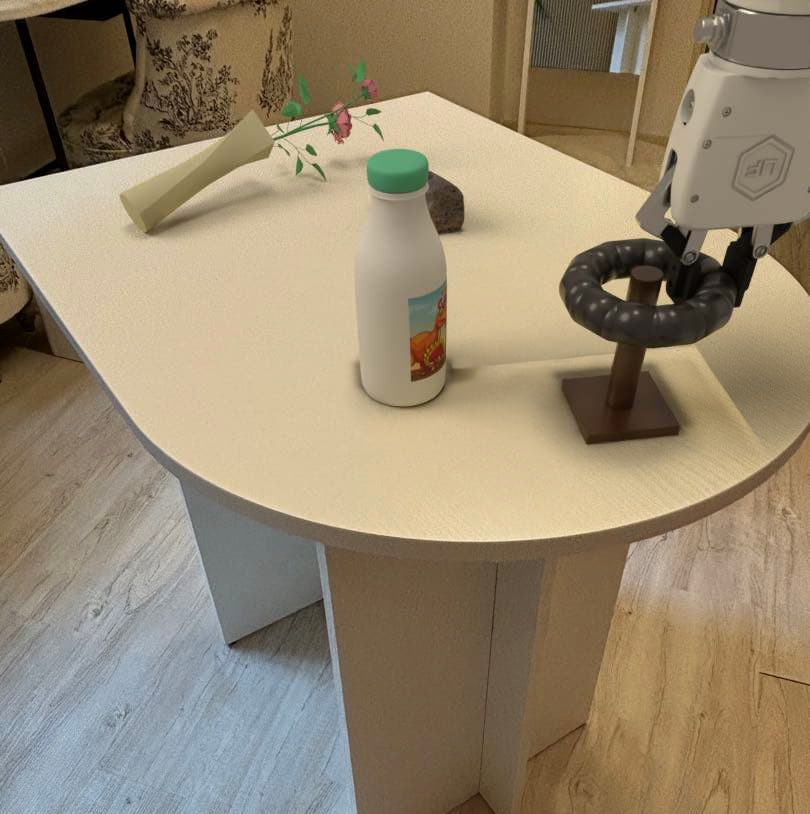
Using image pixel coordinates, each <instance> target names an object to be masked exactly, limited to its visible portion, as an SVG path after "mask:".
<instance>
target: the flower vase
mask: <svg viewBox="0 0 810 814" xmlns="http://www.w3.org/2000/svg"><path fill="white" fill-rule="evenodd" d="M348 66H349V69H350V73H351V76H352V79H351V82H350V85H351V86H350V87H351V89H352V91H353V92H352V93H353V94H352V100H351V101H349V102H348V103H346V104H344V103H342V102H341V101H340V100H338V102H337V101H335V102H334V106H333V107H331V112H329V113H323V114H324V115H322V116H320V117H317V118H315V119H313V120H311V121H309V122H307V123H304V124H302V122H303V118H304V115H302V114H305V113H304V112H305V107H306V105H308V104H310V102H311V96H310V94H309V89H308V85H307V82H306V80H305V78H304V77H303V75H302V74H301V73H300V72H299V73H298V88H299V96H301V100H300V104H299V103H297V102H295V101H291V100H287V105H286V106H285V107H284V108H283V110H282V111H281V113H280V116H283V117H287V118H289V120H288V123H287V126H289V124H290V121H291V120H292V118H294V117H295V118H296V117H297V118H298V117H299V116H300V124H299V126H298V127H295V128H294V129H292V130H289V127H286V128H287V130H286V131H287V132H286V133H285V131H284V130H283V129H282V128H281V126H280V125H279V122H276V123H275V124H276V129H277V130H276V131H275V132H273V133H272V134H270V132H269V131H268V129H267V128H266V127H265V125H264V123H263V122H262V120H260V118H259V117H258V115H257V114H256V112H255V110H254V109H253V108H252V109H251V110H250V111H249V112H248V113H247V114H246V115H245V117H243V118H242V119H241V120H240V121H239V123H238V124H236V125H235V126H234V127H233V129H231V130H230V131H228V132H227V133H226V134H225V135H224V136H223V137H221V138H219V139H218V140H217V141H215V142H214V143H212V144H211V145H209V146H208V147H206V148H205V149H203V150H201V151H200V152H199V153H197V154H195V155H193V156H192V157H190V158H188V159H187V160H185V161H182V163H179V164H177V165H176V166H173V167H172V168H170V169H167V170H165V171H163V172H160V173H158V174H157V175H155V176H153V177H150V178H148V179H147V180H145V181H142V182H140V183H139V184H137V185H135V186H132V187H130V188H127V189H126V190H124V191H122V192H120V194H119V196H118V197H119V199H120V202H121V204H122V206H123V208H124V210H125V211H126V213H127V215H128V216H129V218H130V220H131V221H132V222H133V223H134V224H135V226H136V227H137V228H138V229H139V230H140V231H141V232H143V233H144V234H146V233H147V232H148V231H150V230H151V229H152V228H154V227H155V226H157V225H158V224H159V223H160V222H161V221H163V220H164V219H166V217H168V216H169V215H171V214H172V213H174V212H175V211H176V210H178V208H180V207H181V206H183V205H184V204H185V203H186V202H188V201H190V199H192V198H193V197H194V196H196V195H197V194H198V193H200V192H201V191H203V190H204V189H206V188H207V187H208V186H209V185H211V184H213V183H215V182H216V181H218V180H220V179H221V178H223V177H225V176H227V175H229V174H230V173H231V172H233V171H235V170H237V169H239V168H240V167H243V166H246V165H248V164H252V163H255V162H260V161H262V160H266V159H269V158H270V155H271V153H272V150H273V148H274V147H275V148H280V149H282V150H284V151H285V154H287V156H288V157H291V153H290V152H289V151H288V149H286V148H285V147H284V146H283V145H282V144H281V143H278V142H277V145H275V143H276V141H279V140H281V139H283V140H285V141H286V142H288V143H289V144H291V145H292V146H293V147H294V148H295V150H297V159H296V165H295V176H297V175H299V174H301V172H302V171H303V168H304V162H303V161H302V160H301V158H300V157H299V154H300V156H302V158H303V159H304V161H306V163H308V164H309V165H310V166H312V168H313V169H315V170H316V171H317V172H318V173H319V174H320V176H321V177H322V178H323V179H324V181H327V178H326V175H325V173H324V171H323V169H322V168H321V166H320V165H319V164H318V163H316V162H314V163H310V162H309V161H308V160H307V159H306V158H305V156H303V154H302V153H301V151H300V150H302V151H306V152H307V153H308V154H309V155H310V156H314V157H317V156H318V153H317V152H316V150H315V148H314V147H313V146H312V145H311V144H309V143H306V146H305V149H304V148H301V147H299V148H298V147H297V146H295V145H294V144H293V143H291V141H289V140H288V139H287V137H290V136H292V135H294V134H297V133H301V132H304V131H307V130H311V129H314V128H318V127H323V126H328V130H327V133H326V136H328V135H330V134H331V136H332V137H333V138H334V139H333V140H334V142H337V145H344V144H345V141H344V140H347V138H349V137H350V136H351V130H352V129H353V123H352V118H354V119H355V120H357V121H359V122H361V123H364V124H365V125H367V126H369V127H372V128H373V130H374V131H375V133H377V134H378V136H379V137H380V138H381V140H382V142H385V139H384V136H383V133H382V131H381V128H380V127H379V125H378V124H377V123H374V124H373V125H371V124H368V123H366V122H364V121H362V120H360V118H364V117H365V116H368V117H369V116H374V115H378V114H381V113H382V112H383V111H382V110H380V109H378V108H376V107H375V108H374V107H373V108H372V107H369V108H366V111H365V114H364V115H362V116H353V115H352V114H351V113H350V112H349V110H348V108H347V107H348V106H350V105H352V104H353V103H355V102H357V101H358V100H360V99H361V98H363V103H365V102H366V101H368V102H370V104H371V105H373V104H376V100H375V99H377V101H378V100H379V97H380V95H379V91H378V85H377V83H376V82H375V81H373V79H372V78H369V77H368V76H366V74H367V66H366V62H365V58H362V59H361V60H360V62H359V64H357V67H356V71H355V73H354V68H353V66H352V64H351V63H350V62H348ZM355 81H356V83H355ZM354 83H355V86H354V88H353V84H354ZM358 83H362V84H361V86H360V88H358V90H359V92H360V95H359V96H358V97H356V98H355V97H354V96H355V92H356V91H355V90H356V87H357V85H358ZM303 103H304V104H305V105H303ZM303 106H304V107H303ZM301 112H302V114H301ZM325 118H326V119H327V122H320V123H316V122H318V121H321V120H322V119H325ZM314 123H315V124H314ZM279 131H280V132H281V133H283V134H280V135H278V136H275V137H273V136H274V135H275V134H276V133H278V132H279ZM343 139H344V140H343Z"/></svg>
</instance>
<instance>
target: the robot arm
mask: <svg viewBox="0 0 810 814" xmlns="http://www.w3.org/2000/svg"><path fill="white" fill-rule="evenodd" d="M693 40H694V43H696V44H705V45H706V46H707V48H708V49H709V51H708V52H706V53H701V54H699V57H698V59H697V60H696V63H695V65H694V68H693V70H692V71H691V72H692V73H691V75H690V76H689V79H688V81H687V85H686V87H685V89H684V92H683V95H682V98H681V100H680V102H679V106H678V109H677V112H676V115H675V118H674V121H673V124H672V127H671V132H670V134H669V139H668V142H667V145H666V149H665V153H664V157H663V161H662V164H661V169H660V173H659V179H658V183H657V185H655V188H654V189H653V190H652V191H651V192H650V194H649V196H648V197H647V198H646V200H645V201H644V202H643V204H642V205H641V207H640V208H639V210H638V211H637V212H636V214H635V216H634V219H635V222H636V223H637V224H638V226H639V227H640V229H641V230H642V231H644V232H646V233H648V234H650V235H651V236H653V237H655V238H657V239H659V240H661V241H664V242H665V243H666V244H667V245H668V247H669V248H670V249H671V250H672V251H673V256H672V260H671V264H670V269H669V273H668V277H667V281H666V282H665V294H666V295H667V297H668V298H669V299H670V301H671V302H672V304H677V303H684V302H686V301H688V300H689V299H691V298H693V297H694V294H695V292H696V289H697V285H698V281H699V278H700V274H701V270H702V266H701V264H700V263H699V261H698V260H697V258H698V256H699V253H700V252H701V250H702V248H703V245H704V242H705V240H706V238H707V234H708V232H709V231H717V230H727V229H728V230H729V229H738V232H737V239H736V240H731V241H730V242H729V245H727V248H726V250H725V254H724V257H723V261H722V263H721V265H722V267H723V268H724V269H725V270H726V271H727V273H728V274H729V275H730V276H731V277H732V279H733V280H734V282H735V284H736V287H737V295H736V299H735V304H734V308H735V309H737V308H740V307H741V305H742V303H743V299H744V297H745V293H746V291H748V290H749V288H750V284H751V281H752V279H753V276H754V273H755V269H756V266H757V263H758V260H760V259H763V258H764V257H766V256H767V254H768V253H769V251H770V247H771V245H773V244H774V243H775V242H777V241H778V240H779V239H780V238H781V237H783V236H784V235H785V234H786V233H788V231H790V229H791V228H792V227H794V226H796V225H798V224H800V223H802V222H803V221H805V220H807V219H809V218H810V0H717V3H716V7H715V12H714V14H710V15H709V16H707V17H699V18H697V20H696V22H695V24H694V28H693ZM669 209H670V214H671V215H670V216H671V218H672V219H670V218H667V217H665V216H666V213H667V212H668V211H669ZM672 220H674V222H675V223H674V222H673V221H672ZM734 308H733V309H734Z"/></svg>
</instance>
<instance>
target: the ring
mask: <svg viewBox="0 0 810 814" xmlns="http://www.w3.org/2000/svg"><path fill="white" fill-rule="evenodd" d="M672 256H673V251H672V250H671V249H670V248H669V247H668V245H667V244H666V243H665V242H664V241H663V240H661V239H654V238H648V237H647V238H646V237H638V238H630V239H629V238H628V239H619V240H618V239H617V240H608V241H604V242H602V243H599V244H598V245H596V246H595V245H594V246H593V247H591V248H588V249H586V250H585V251H582V252H580V253H578V254H576V255H575V256H574V257H573V258H572V259H571V260H570V262H569V264H568V265H567V267H566V269H565V271H564V274H563V275H562V277H561V278H560V281H559V285H558V293H559V297H560V299H561V301H562V303H563V305H564V307H565V309H566V311H567V313H568V314H569V316H570V318H571V320H572V321H573V322H574V323H576V324H577V325H579V326H580V327H582V328H584V329H586V330H587V331H589V332H591V333H593V334H594V335H596V336H598V337H600V338H602V339H603V340H605V341H608V342H612V343H616V344H617V343H622V344H627V345H633V346H638V347H643V348H647V349H650V350H651V349H653V350H654V349H661V348H670V347H680V346H689V345H693V344H696V343H698V342H700V341H702V340H703V339H706V338H707V337H708V336H711V335H712V334H714V333H715V332H717V331H719V330H721V329H722V328H724V327H725V326H726V325H727V324H728V323H729V322H730V320H731V318H732V316H733V312H734V304H735V299H736V295H737V287H736V284H735V282H734V280H733V279H732V277H731V276H730V275H729V274H728V273H727V271H726V270H725V269H724V268H723V267H722V263H720V262H719V260H717V259H716V258H714V257H713V256H711V255H709V254H706V253H704V252H702V251H700V253H699V256H698V258H697V260H698V261H699V263H700V264H701V266H702V270H701V274H700V278H699V281H698V285H697V289H696V292H695V294H694V297H693V298H691V299H689V300H688V301H686V302H684V303H677V304H674V303H668V304H659V305H658V304H657V306H654V305H648V304H642V303H636V302H631V301H625V300H626V299H625V300H624V299H622V298H620V297H618V296H616V295H614V294H613V293H610V292H609V291H607V290H606V289H604V288H603V286H604V285H606V284H607V283H609V282H611V281H616V280H624V279H630V276H631V271H632V270H633V269H634V268H635V267H638V266H652V267H656V268H658V269H660V270H661V271H662V272H663V275H664V276H663V280H662V282H665V283H666V281H667V277H668V273H669V269H670V264H671V260H672Z"/></svg>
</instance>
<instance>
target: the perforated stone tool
mask: <svg viewBox="0 0 810 814" xmlns="http://www.w3.org/2000/svg"><path fill="white" fill-rule="evenodd" d="M428 186H429V188H428V190H427V192H426V193H425V197H426V203H427V207H428V211H429V214H430V217H431V219H432V222H433V224H434V226H435V228H436V231H437V233H438V235H443V234H450V233H454V232H458V231H460V230H461V229H462V227H463V226H464V223H465V201H464V200H465V196H464V194H463V192H462V190H460V188H459V187H458V186H457V185H455V184H454V183H452V182H451V181H449V180H448V179H446V178H445V177H442V176H441V175H439V174H437V173H435V172H433V171H431V170H429V177H428Z"/></svg>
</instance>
